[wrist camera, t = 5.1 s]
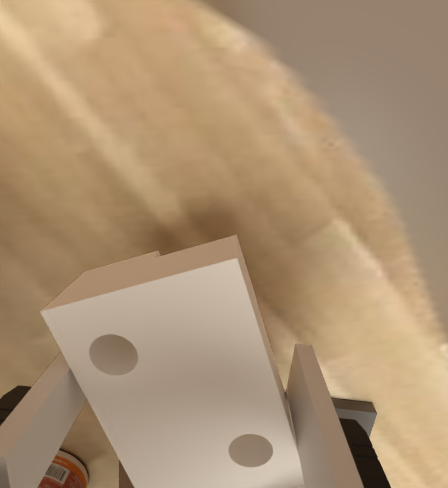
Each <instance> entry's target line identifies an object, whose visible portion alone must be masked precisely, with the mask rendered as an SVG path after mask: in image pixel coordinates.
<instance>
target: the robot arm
mask: <svg viewBox="0 0 448 488" xmlns="http://www.w3.org/2000/svg"><path fill="white" fill-rule="evenodd" d="M286 394H287V399H288V404H289V409H290V414H291V419H292V424H293V429H294V434H295V439H296V444H297V449H298V454H299V459H300V464H301V469H302V474H303V479H304V484H305V488H391V486H390V484H389V482H388V480H387V477H386V475H385V473H384V471H383V468H382V466H381V464H380V462H379V460H378V457H377V455H376V453H375V450H374V449H373V447H372V444H371V441H370V439H369V437H368V435H367V432H366V431H365V430H364V429H363V428H362V426H361V425H360V424H359V423H358V422H357V421H356V420H354V419H345V418H338V416H337V413H336V410H335V407H334V405H333V402H332V399H331V397H330V394H329V391H328V388H327V386H326V383H325V380H324V377H323V375H322V372H321V369H320V366H319V364H318V361H317V358H316V356H315V353H314V350H313V347H312V345H302V344H295V349H294V354H293V359H292V364H291V369H290V374H289V379H288V384H287V389H286ZM86 400H87V398H86V396H85V395H84V393H83V391H82V389H81V387H80V385H79V383H78V382H77V380H76V378H75V376H74V374H73V372H72V370H71V369H70V367H69V365H68V363H67V361H66V359H65V357H64V355H63V354H62V352H60V353H59V354H58V356H57V357H56V358H55V359H54V360H53V362H52V363H51V364H50V365H49V367H48V368H47V369H46V370H45V372H44V373H43V374H42V375H41V377H40V378H39V379H38V380H37V381H36V383H35V384H34V385H33V386H32V387H27V386H17V387H16V388H14V389H13V390H11V391H10V392H8V393H7V394H5V395H4V396H3V397H2V398H1V399H0V488H37V487H38V486H39V484H40V482H41V480H42V479H43V477H44V475H45V473H46V471H47V470H48V468H49V466H50V464H51V463H52V461H53V459H54V457H55V455H56V454H57V452H58V450H59V448H60V447H61V445H62V443H63V441H64V439H65V438H66V436H67V434H68V432H69V431H70V429H71V427H72V425H73V423H74V422H75V420H76V418H77V416H78V415H79V413H80V411H81V409H82V407H83V406H84V404H85V402H86Z"/></svg>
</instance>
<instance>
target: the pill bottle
mask: <svg viewBox="0 0 448 488" xmlns="http://www.w3.org/2000/svg"><path fill="white" fill-rule="evenodd" d="M87 484H88V475H87V472H86V469H85V468H84V466H83V465H82V463H81V462H80V461H79V460H77V459H76V458H75V457H73V456H72V455H70V454H68V453H66V452H63V451H60V450H58V452H57V454H56V455H55V457H54V459H53V461H52V463H51V464H50V466H49V468H48V470H47V471H46V473H45V475H44V477H43V479H42V480H41V482H40V484H39V486H38V487H37V488H86V487H87Z"/></svg>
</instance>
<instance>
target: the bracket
mask: <svg viewBox="0 0 448 488" xmlns="http://www.w3.org/2000/svg"><path fill="white" fill-rule="evenodd" d="M40 313H41V315H42V316H43V318H44V320H45V322H46V324H47V326H48V328H49V329H50V331H51V333H52V335H53V337H54V339H55V341H56V342H57V344H58V346H59V348H60V350H61V352H62V354H63V355H64V357H65V359H66V361H67V363H68V365H69V367H70V369H71V370H72V372H73V374H74V376H75V378H76V380H77V382H78V383H79V385H80V387H81V389H82V391H83V393H84V395H85V396H86V398H87V400H88V402H89V404H90V406H91V408H92V410H93V411H94V413H95V415H96V417H97V419H98V421H99V423H100V424H101V426H102V428H103V430H104V432H105V434H106V436H107V437H108V439H109V441H110V443H111V445H112V447H113V449H114V451H115V452H116V454H117V456H118V458H119V460H120V462H121V464H122V465H123V467H124V469H125V471H126V473H127V475H128V477H129V478H130V480H131V482H132V484H133V486H134V488H305V484H304V479H303V474H302V469H301V464H300V459H299V454H298V449H297V444H296V439H295V434H294V429H293V424H292V419H291V414H290V409H289V405H288V401H287V398H286V395H285V392H284V388H283V385H282V382H281V378H280V375H279V372H278V369H277V365H276V362H275V359H274V355H273V352H272V349H271V346H270V342H269V339H268V336H267V332H266V329H265V326H264V323H263V319H262V316H261V313H260V309H259V306H258V303H257V300H256V296H255V293H254V290H253V286H252V283H251V280H250V277H249V273H248V270H247V267H246V263H245V260H244V257H243V254H242V250H241V247H240V244H239V240H238V237H237V235H233V236H230V237H226V238H223V239H219V240H216V241H212V242H208V243H205V244H201V245H198V246H194V247H191V248H187V249H184V250H180V251H177V252H173V253H169V254H166V255H162V256H160V253H159V250H158V251H154V252H151V253H147V254H144V255H140V256H137V257H133V258H130V259H126V260H123V261H119V262H116V263H112V264H109V265H105V266H101V267H98V268H94V269H91V270H87V271H85V272H83V273H82V274H81V275H80V276H79V277H78V278H77V279H76V280H75V281H73V282H72V283H71V284H70V285H69V286H68V287H67V288H66V289H65V290H63V291H62V292H61V293H60V294H59V295H58V296H57V297H56V298H55V299H53V300H52V301H51V302H50V303H49V304H48V305H47V306H46V307H45V308H43V309H42V310H41V311H40Z"/></svg>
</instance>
